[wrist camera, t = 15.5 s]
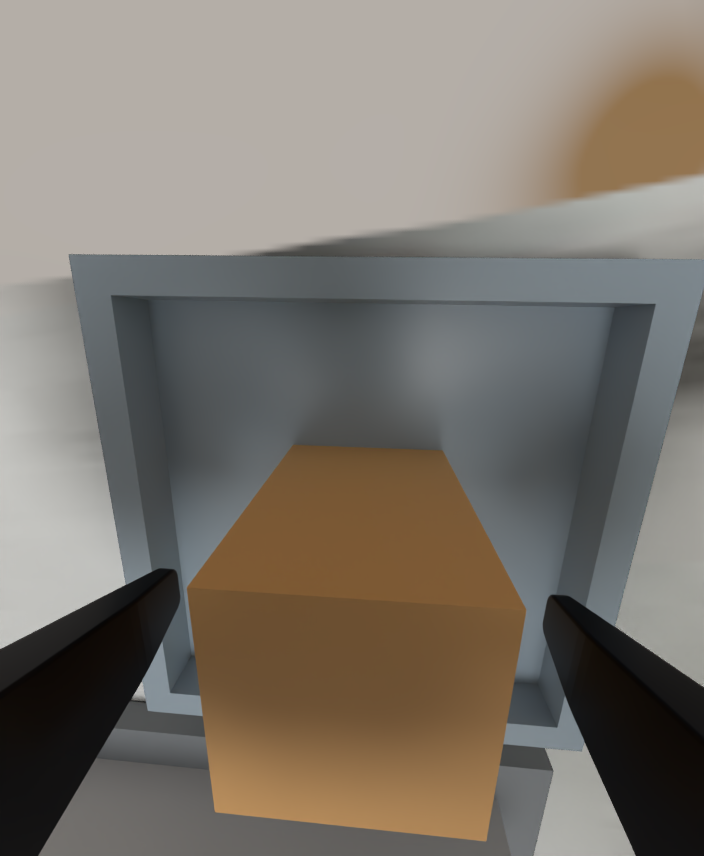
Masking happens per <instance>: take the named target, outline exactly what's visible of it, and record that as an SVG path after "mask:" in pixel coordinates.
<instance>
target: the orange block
mask: <svg viewBox="0 0 704 856" xmlns="http://www.w3.org/2000/svg"><path fill="white" fill-rule="evenodd" d="M187 595H188V603H189V611H190V619H191V627H192V635H193V643H194V651H195V659H196V667H197V674H198V682H199V690H200V698H201V706H202V714H203V722H204V730H205V738H206V746H207V754H208V762H209V770H210V778H211V785H212V793H213V801H214V809H215V812H217V813H226V814H235V815H244V816H254V817H263V818H272V819H282V820H291V821H300V822H310V823H319V824H328V825H337V826H347V827H356V828H365V829H375V830H384V831H393V832H402V833H412V834H421V835H430V836H440V837H449V838H458V839H468V840H477V841H486V840H487V834H488V829H489V823H490V817H491V811H492V806H493V800H494V794H495V789H496V783H497V777H498V771H499V766H500V760H501V754H502V748H503V743H504V737H505V731H506V725H507V720H508V714H509V708H510V703H511V697H512V691H513V685H514V680H515V674H516V668H517V662H518V657H519V651H520V645H521V640H522V634H523V628H524V622H525V617H526V611H527V610H526V608H525V606H524V604H523V602H522V600H521V598H520V596H519V595H518V593H517V591H516V589H515V587H514V585H513V583H512V581H511V579H510V577H509V575H508V574H507V572H506V570H505V568H504V566H503V564H502V562H501V560H500V558H499V556H498V555H497V553H496V551H495V549H494V547H493V545H492V543H491V541H490V539H489V537H488V535H487V534H486V532H485V530H484V528H483V526H482V524H481V522H480V520H479V518H478V516H477V515H476V513H475V511H474V509H473V507H472V505H471V503H470V501H469V499H468V497H467V496H466V494H465V492H464V490H463V488H462V486H461V484H460V482H459V480H458V478H457V476H456V475H455V473H454V471H453V469H452V467H451V465H450V463H449V461H448V459H447V457H446V456H445V454H444V452H443V450H418V449H392V448H366V447H339V446H313V445H292V447H291V448H290V449H289V451H288V452H287V454H286V455H285V456H284V458H283V459H282V460H281V462H280V463H279V464H278V466H277V467H276V468H275V470H274V471H273V472H272V474H271V475H270V476H269V478H268V479H267V480H266V482H265V483H264V484H263V486H262V487H261V488H260V490H259V491H258V492H257V494H256V495H255V496H254V498H253V499H252V501H251V502H250V503H249V505H248V506H247V507H246V509H245V510H244V511H243V513H242V514H241V515H240V517H239V518H238V519H237V521H236V522H235V523H234V525H233V526H232V527H231V529H230V530H229V531H228V533H227V534H226V535H225V537H224V538H223V539H222V541H221V542H220V543H219V545H218V546H217V547H216V549H215V550H214V552H213V553H212V554H211V556H210V557H209V558H208V560H207V561H206V562H205V564H204V565H203V566H202V568H201V569H200V570H199V572H198V573H197V574H196V576H195V577H194V578H193V580H192V581H191V582H190V584H189V585H188V586H187Z"/></svg>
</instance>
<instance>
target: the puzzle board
mask: <svg viewBox="0 0 704 856" xmlns="http://www.w3.org/2000/svg"><path fill="white" fill-rule="evenodd" d="M552 775H553V768H552V766H551V763H550V761H549V758H548V756H547V753H546V751H545V748H540V747H529V746H518V745H508V744H503V748H502V754H501V760H500V766H499V771H498V777H497V783H496V789H495V794H494V800H493V806H492V811H491V817H490V823H489V829H488V834H487V840H486V841H477V840H468V839H458V838H449V837H440V836H430V835H421V834H412V833H402V832H393V831H384V830H375V829H365V828H356V827H347V826H337V825H328V824H319V823H310V822H300V821H291V820H282V819H272V818H263V817H254V816H244V815H235V814H226V813H217V812H215V809H214V801H213V793H212V785H211V778H210V770H209V762H208V754H207V746H206V738H205V730H204V722H203V716H197V715H186V714H175V713H164V712H154V711H148V709H147V704H146V703H145V702H134V701H130V702H129V704H128V705H127V707H126V709H125V710H124V712H123V714H122V715H121V717H120V719H119V720H118V722H117V724H116V726H115V727H114V729H113V731H112V732H111V734H110V736H109V737H108V739H107V741H106V742H105V744H104V746H103V747H102V749H101V751H100V753H99V754H98V756H97V758H96V759H95V761H94V763H93V764H92V766H91V768H90V769H89V771H88V773H87V774H86V776H85V778H84V780H83V781H82V783H81V785H80V786H79V788H78V790H77V791H76V793H75V795H74V796H73V798H72V800H71V802H70V803H69V805H68V807H67V808H66V810H65V812H64V813H63V815H62V817H61V818H60V820H59V822H58V823H57V825H56V827H55V829H54V830H53V832H52V834H51V835H50V837H49V839H48V840H47V842H46V844H45V845H44V847H43V849H42V850H41V852H40V854H39V856H533V855H534V851H535V846H536V842H537V838H538V834H539V830H540V825H541V821H542V817H543V813H544V809H545V804H546V800H547V796H548V792H549V788H550V784H551V779H552Z"/></svg>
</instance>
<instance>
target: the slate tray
mask: <svg viewBox="0 0 704 856" xmlns="http://www.w3.org/2000/svg"><path fill="white" fill-rule="evenodd" d="M69 260H70V265H71V271H72V277H73V283H74V289H75V294H76V300H77V306H78V312H79V317H80V323H81V329H82V335H83V340H84V346H85V352H86V358H87V363H88V369H89V375H90V381H91V387H92V392H93V398H94V404H95V410H96V415H97V421H98V427H99V433H100V438H101V444H102V450H103V456H104V461H105V467H106V473H107V479H108V485H109V490H110V496H111V502H112V508H113V513H114V519H115V525H116V531H117V536H118V542H119V548H120V554H121V559H122V565H123V571H124V577H125V582H126V585H127V584H129V583H131V582H133V581H135V580H136V579H138V578H140V577H142V576H144V575H146V574H148V573H150V572H152V571H154V570H156V569H158V568H169V569H175V570H176V571H177V573H178V580H179V588H180V597H181V598H180V604H179V607H178V609H177V611H176V613H175V615H174V618H173V620H172V622H171V624H170V626H169V628H168V630H167V632H166V634H165V636H164V638H163V641H162V643H161V645H160V647H159V649H158V651H157V653H156V655H155V657H154V659H153V661H152V663H151V665H150V667H149V669H148V671H147V673H146V675H145V676H144V678H143V686H144V692H145V698H146V704H147V709H148V711H154V712H164V713H175V714H186V715H197V716H203V714H202V706H201V698H200V690H199V682H198V674H197V667H196V659H195V651H194V643H193V635H192V627H191V619H190V611H189V603H188V595H187V586H188V585H189V584H190V582H191V581H192V580H193V578H194V577H195V576H196V574H197V573H198V572H199V570H200V569H201V568H202V566H203V565H204V564H205V562H206V561H207V560H208V558H209V557H210V556H211V554H212V553H213V552H214V550H215V549H216V547H217V546H218V545H219V543H220V542H221V541H222V539H223V538H224V537H225V535H226V534H227V533H228V531H229V530H230V529H231V527H232V526H233V525H234V523H235V522H236V521H237V519H238V518H239V517H240V515H241V514H242V513H243V511H244V510H245V509H246V507H247V506H248V505H249V503H250V502H251V501H252V499H253V498H254V496H255V495H256V494H257V492H258V491H259V490H260V488H261V487H262V486H263V484H264V483H265V482H266V480H267V479H268V478H269V476H270V475H271V474H272V472H273V471H274V470H275V468H276V467H277V466H278V464H279V463H280V462H281V460H282V459H283V458H284V456H285V455H286V454H287V452H288V451H289V449H290V448H291V447H292V445H313V446H339V447H366V448H392V449H418V450H443V452H444V454H445V456H446V457H447V459H448V461H449V463H450V465H451V467H452V469H453V471H454V473H455V475H456V476H457V478H458V480H459V482H460V484H461V486H462V488H463V490H464V492H465V494H466V496H467V497H468V499H469V501H470V503H471V505H472V507H473V509H474V511H475V513H476V515H477V516H478V518H479V520H480V522H481V524H482V526H483V528H484V530H485V532H486V534H487V535H488V537H489V539H490V541H491V543H492V545H493V547H494V549H495V551H496V553H497V555H498V556H499V558H500V560H501V562H502V564H503V566H504V568H505V570H506V572H507V574H508V575H509V577H510V579H511V581H512V583H513V585H514V587H515V589H516V591H517V593H518V595H519V596H520V598H521V600H522V602H523V604H524V606H525V608H526V610H527V611H526V617H525V622H524V628H523V634H522V640H521V645H520V651H519V657H518V662H517V668H516V674H515V680H514V685H513V691H512V697H511V703H510V708H509V714H508V720H507V725H506V731H505V737H504V743H503V744H508V745H518V746H529V747H540V748H551V749H561V750H572V751H582V749H583V745H584V739H583V737H582V735H581V733H580V730H579V728H578V726H577V724H576V721H575V719H574V717H573V715H572V712H571V710H570V707H569V705H568V702H567V700H566V697H565V694H564V691H563V688H562V686H561V683H560V680H559V677H558V674H557V671H556V668H555V665H554V662H553V659H552V656H551V654H550V651H549V648H548V645H547V642H546V639H545V636H544V633H543V618H544V613H545V608H546V603H547V599H548V597H549V596H550V595H551V594H556V595H568V596H570V597H572V598H573V599H575V600H576V601H578V602H579V603H580V604H582V605H583V606H585V607H586V608H588V609H589V610H591V611H592V612H594V613H595V614H597V615H598V616H600V617H601V618H603V619H604V620H605V621H607V622H608V623H610V624H611V625H613V626H614V627H615V623H616V620H617V616H618V612H619V608H620V604H621V601H622V597H623V593H624V589H625V585H626V582H627V578H628V574H629V570H630V566H631V563H632V559H633V555H634V551H635V547H636V544H637V540H638V536H639V532H640V528H641V525H642V521H643V517H644V513H645V509H646V506H647V502H648V498H649V494H650V490H651V486H652V483H653V479H654V475H655V471H656V467H657V464H658V460H659V456H660V452H661V448H662V445H663V441H664V437H665V433H666V429H667V426H668V422H669V418H670V414H671V410H672V407H673V403H674V399H675V395H676V391H677V388H678V384H679V380H680V376H681V372H682V369H683V365H684V361H685V357H686V353H687V350H688V346H689V342H690V338H691V334H692V331H693V327H694V323H695V319H696V315H697V311H698V308H699V304H700V300H701V296H702V292H703V289H704V260H700V259H576V258H453V257H329V256H205V255H204V256H203V255H202V256H199V255H192V256H191V255H81V254H78V255H77V254H76V255H75V254H73V255H72V254H69Z"/></svg>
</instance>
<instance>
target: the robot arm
mask: <svg viewBox="0 0 704 856" xmlns="http://www.w3.org/2000/svg"><path fill="white" fill-rule="evenodd" d="M180 598H181V597H180V588H179V580H178V573H177V571H176V570H175V569H169V568H158V569H156V570H154V571H152V572H150V573H148V574H146V575H144V576H142V577H140V578H138V579H136V580H135V581H133V582H131V583H129V584H127V585H125V586H123V587H121V588H119V589H117V590H115V591H113V592H111V593H109V594H107V595H105V596H103V597H101V598H99V599H97V600H95V601H94V602H92V603H90V604H88V605H86V606H84V607H82V608H80V609H78V610H76V611H74V612H72V613H70V614H68V615H66V616H64V617H62V618H60V619H58V620H56V621H54V622H53V623H51V624H49V625H47V626H45V627H43V628H41V629H39V630H37V631H35V632H33V633H31V634H29V635H27V636H25V637H23V638H21V639H19V640H17V641H15V642H13V643H12V644H10V645H8V646H6V647H4V648H2V649H0V856H39V854H40V852H41V850H42V849H43V847H44V845H45V844H46V842H47V840H48V839H49V837H50V835H51V834H52V832H53V830H54V829H55V827H56V825H57V823H58V822H59V820H60V818H61V817H62V815H63V813H64V812H65V810H66V808H67V807H68V805H69V803H70V802H71V800H72V798H73V796H74V795H75V793H76V791H77V790H78V788H79V786H80V785H81V783H82V781H83V780H84V778H85V776H86V774H87V773H88V771H89V769H90V768H91V766H92V764H93V763H94V761H95V759H96V758H97V756H98V754H99V753H100V751H101V749H102V747H103V746H104V744H105V742H106V741H107V739H108V737H109V736H110V734H111V732H112V731H113V729H114V727H115V726H116V724H117V722H118V720H119V719H120V717H121V715H122V714H123V712H124V710H125V709H126V707H127V705H128V704H129V702H130V700H131V699H132V697H133V695H134V693H135V692H136V690H137V688H138V687H139V685H140V683H141V682H142V680H143V678H144V676H145V675H146V673H147V671H148V669H149V667H150V665H151V663H152V661H153V659H154V657H155V655H156V653H157V651H158V649H159V647H160V645H161V643H162V641H163V638H164V636H165V634H166V632H167V630H168V628H169V626H170V624H171V622H172V620H173V618H174V615H175V613H176V611H177V609H178V607H179V604H180ZM543 633H544V636H545V639H546V642H547V645H548V648H549V651H550V654H551V656H552V659H553V662H554V665H555V668H556V671H557V674H558V677H559V680H560V683H561V686H562V688H563V691H564V694H565V697H566V700H567V702H568V705H569V707H570V710H571V712H572V715H573V717H574V719H575V721H576V724H577V726H578V728H579V730H580V733H581V735H582V737H583V739H584V741H585V744H586V746H587V748H588V750H589V753H590V755H591V757H592V759H593V761H594V764H595V766H596V768H597V770H598V773H599V775H600V777H601V779H602V781H603V784H604V786H605V788H606V790H607V793H608V795H609V797H610V799H611V801H612V804H613V806H614V808H615V810H616V813H617V815H618V817H619V819H620V821H621V824H622V826H623V828H624V830H625V833H626V835H627V837H628V839H629V841H630V844H631V846H632V848H633V850H634V853H635V855H636V856H704V687H703V686H701V685H700V684H698V683H697V682H695V681H694V680H692V679H691V678H689V677H688V676H686V675H685V674H683V673H682V672H680V671H679V670H678V669H676V668H675V667H673V666H672V665H670V664H669V663H667V662H666V661H664V660H663V659H661V658H660V657H658V656H657V655H655V654H654V653H653V652H651V651H650V650H648V649H647V648H645V647H644V646H642V645H641V644H639V643H638V642H636V641H635V640H633V639H632V638H630V637H629V636H628V635H626V634H625V633H623V632H622V631H620V630H619V629H617V628H616V627H614V626H613V625H611V624H610V623H608V622H607V621H605V620H604V619H603V618H601V617H600V616H598V615H597V614H595V613H594V612H592V611H591V610H589V609H588V608H586V607H585V606H583V605H582V604H580V603H579V602H578V601H576V600H575V599H573V598H572V597H570V596H568V595H556V594H551V595H550V596H549V597H548V599H547V603H546V608H545V613H544V618H543Z"/></svg>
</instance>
